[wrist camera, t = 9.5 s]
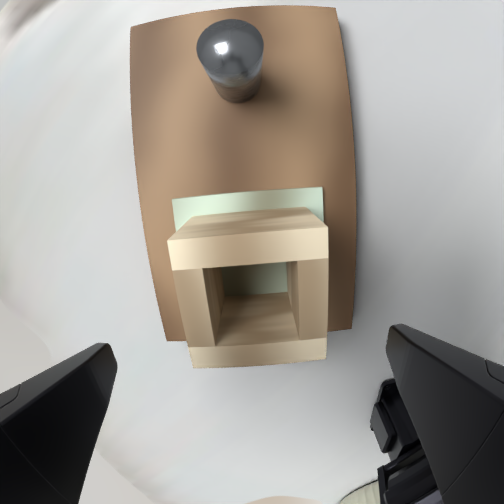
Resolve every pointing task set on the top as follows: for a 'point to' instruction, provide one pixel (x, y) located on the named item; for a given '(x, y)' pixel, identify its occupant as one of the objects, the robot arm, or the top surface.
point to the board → (245, 144)
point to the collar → (252, 306)
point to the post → (232, 58)
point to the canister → (364, 495)
